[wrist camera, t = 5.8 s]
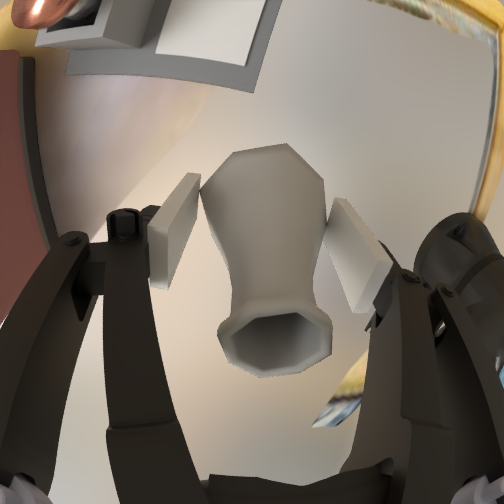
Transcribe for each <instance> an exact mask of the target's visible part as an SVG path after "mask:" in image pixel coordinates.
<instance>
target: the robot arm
mask: <svg viewBox="0 0 504 504" xmlns="http://www.w3.org/2000/svg"><path fill="white" fill-rule="evenodd" d="M200 179H201V174H196V173H187V174H186V175H185V177H184V178H183V179H182V180H181V181H180V183H179V184H178V185H177V187H176V188H175V189H174V191H173V192H172V193H171V194H170V196H169V197H168V198H167V200H166V201H165V202H164V203H163V205H162V206H155V205H149V206H147V207H146V208H144V209H142V211H138V210H136V209H131V208H123V209H118V210H115V211H112V212H111V213H109V214H108V215H107V217H106V220H107V231H108V242H100V243H89V237H88V235H87V234H86V233H84V232H80V231H71V232H68V233H66V234H64V235H62V236H61V237H60V238H59V239H58V240H57V241H56V242H55V244H54V245H53V246H52V248H51V249H50V250H49V252H48V253H47V254H46V256H45V257H44V258H43V260H42V261H41V263H40V264H39V266H38V267H37V269H36V270H35V271H34V273H33V274H32V276H31V277H30V279H29V281H28V282H27V284H26V285H25V287H24V288H23V290H22V292H21V293H20V295H19V297H18V298H17V300H16V302H15V303H14V305H13V307H12V308H11V310H10V312H9V314H8V316H7V317H6V319H5V321H4V323H3V325H2V327H1V329H0V504H53V503H52V502H51V501H50V499H49V498H48V494H49V491H50V488H51V484H52V480H53V476H54V470H55V464H56V457H57V449H58V442H59V436H60V430H61V425H62V419H63V414H64V409H65V405H66V400H67V396H68V392H69V387H70V383H71V379H72V376H73V372H74V368H75V365H76V361H77V358H78V354H79V351H80V348H81V345H82V341H83V338H84V335H85V332H86V329H87V326H88V323H89V321H90V318H91V315H92V312H93V309H94V307H95V304H96V301H97V299H98V295H104V296H103V355H104V356H103V357H104V373H105V387H106V398H107V407H108V414H109V427H108V428H107V430H106V443H107V450H108V456H109V461H110V465H111V470H112V475H113V478H114V483H115V487H116V491H117V494H118V498H119V501H120V504H504V257H503V256H502V255H501V254H500V252H499V250H498V248H497V246H496V244H495V243H494V240H493V238H492V236H491V234H490V233H489V231H488V229H487V227H486V226H485V225H484V224H483V223H482V222H481V221H480V220H479V219H478V218H476V217H475V216H474V215H472V214H470V213H464V212H463V213H456V214H453V215H450V216H448V217H447V218H445V219H443V220H442V221H441V222H439V223H438V224H437V225H436V226H435V227H434V228H433V229H432V230H431V231H430V232H429V234H428V235H427V236H426V238H425V239H424V241H423V242H422V244H421V246H420V248H419V250H418V252H417V255H416V258H415V262H414V269H413V270H414V271H413V272H411V271H409V270H407V269H402V268H401V267H400V265H399V264H398V262H397V261H396V260H395V258H393V255H392V254H391V253H390V251H389V250H388V248H387V247H386V246H385V245H384V244H383V243H381V242H380V241H379V240H377V239H376V237H375V236H374V234H373V233H372V232H371V230H370V229H369V228H368V226H367V225H366V224H365V222H364V221H363V220H362V218H361V217H360V216H359V215H358V213H357V212H356V211H355V209H354V208H353V207H352V206H351V204H350V203H349V202H348V201H347V200H346V199H342V198H337V197H335V199H334V202H333V205H332V208H331V212H330V215H329V218H328V222H327V227H326V231H325V234H324V237H323V241H324V243H325V245H326V248H327V250H328V252H329V255H330V257H331V259H332V262H333V264H334V267H335V269H336V272H337V274H338V276H339V279H340V282H341V284H342V287H343V290H344V292H345V295H346V297H347V300H348V303H349V305H350V308H351V311H352V313H360V314H367V313H368V312H369V309H370V308H371V306H372V304H374V307H375V309H376V311H375V313H374V315H373V316H372V318H371V320H370V322H369V323H368V325H367V326H366V328H365V331H366V332H367V330H368V329H369V328H370V327H371V331H370V344H369V353H368V362H367V370H366V377H365V384H364V391H363V397H362V403H361V408H360V414H359V419H358V424H357V429H356V433H355V438H354V442H353V446H352V450H351V453H350V455H349V457H348V459H347V460H346V461H345V463H344V464H343V466H342V468H341V470H340V472H339V474H337V475H334V476H331V477H329V478H326V479H324V480H321V481H318V482H315V483H312V484H309V485H305V486H298V485H292V484H286V483H281V482H276V481H271V480H267V479H262V478H258V477H239V476H226V475H215V474H210V475H209V479H208V480H202V481H200V480H199V478H198V475H197V472H196V469H195V467H194V464H193V461H192V458H191V456H190V453H189V450H188V447H187V444H186V441H185V438H184V435H183V432H182V429H181V426H180V423H179V421H178V419H177V416H176V414H175V410H174V406H173V403H172V399H171V395H170V391H169V387H168V383H167V379H166V375H165V370H164V366H163V361H162V357H161V352H160V347H159V343H158V337H157V332H156V327H155V321H154V315H153V310H152V303H151V297H150V290H149V283H148V278H150V287H153V288H158V289H164V290H169V287H170V284H171V282H172V279H173V276H174V274H175V271H176V268H177V266H178V263H179V261H180V258H181V256H182V253H183V251H184V248H185V246H186V243H187V241H188V238H189V236H190V233H191V231H192V228H193V226H194V224H195V221H196V219H197V210H198V198H199V188H200ZM443 322H444V324H445V326H444V327H442V328H441V329H439V328H440V327H441V325H442V324H443ZM438 329H439V330H438Z"/></svg>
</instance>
